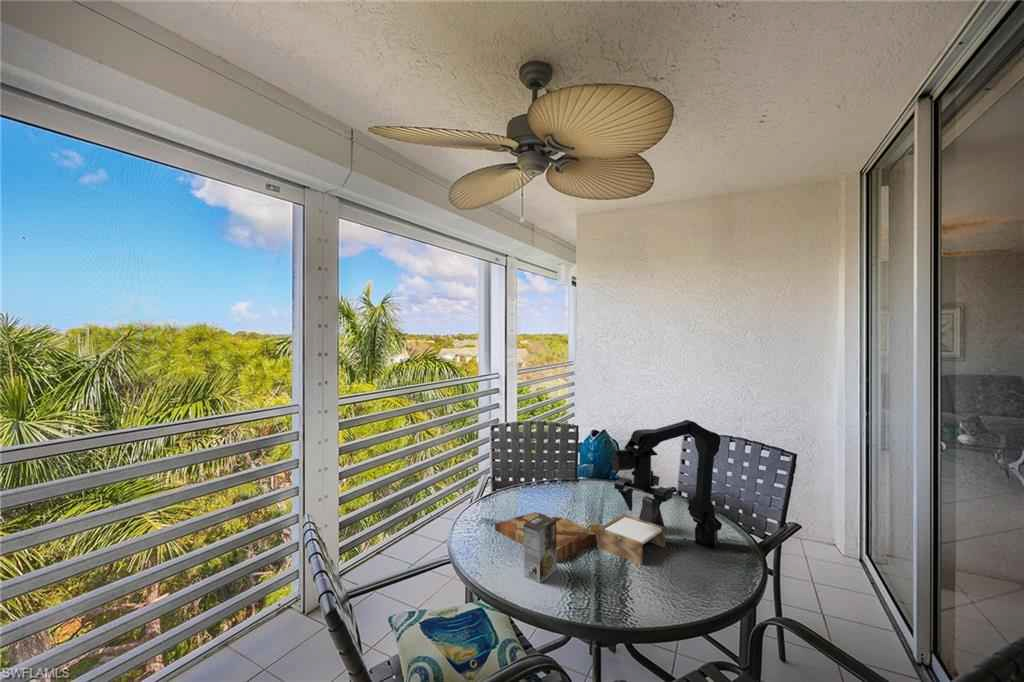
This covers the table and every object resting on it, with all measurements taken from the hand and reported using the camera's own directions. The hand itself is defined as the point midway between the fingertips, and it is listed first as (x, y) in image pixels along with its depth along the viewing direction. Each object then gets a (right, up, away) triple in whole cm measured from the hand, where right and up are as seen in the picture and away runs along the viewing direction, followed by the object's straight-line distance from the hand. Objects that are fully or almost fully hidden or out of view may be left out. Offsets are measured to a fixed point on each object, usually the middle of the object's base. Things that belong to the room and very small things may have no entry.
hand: (642, 514), depth 148 cm
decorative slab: (-33, -13, +11) cm, 37 cm away
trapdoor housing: (-3, -13, +2) cm, 13 cm away
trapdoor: (-2, -9, +3) cm, 9 cm away
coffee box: (-36, -13, -14) cm, 40 cm away
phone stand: (+8, -13, +16) cm, 22 cm away
